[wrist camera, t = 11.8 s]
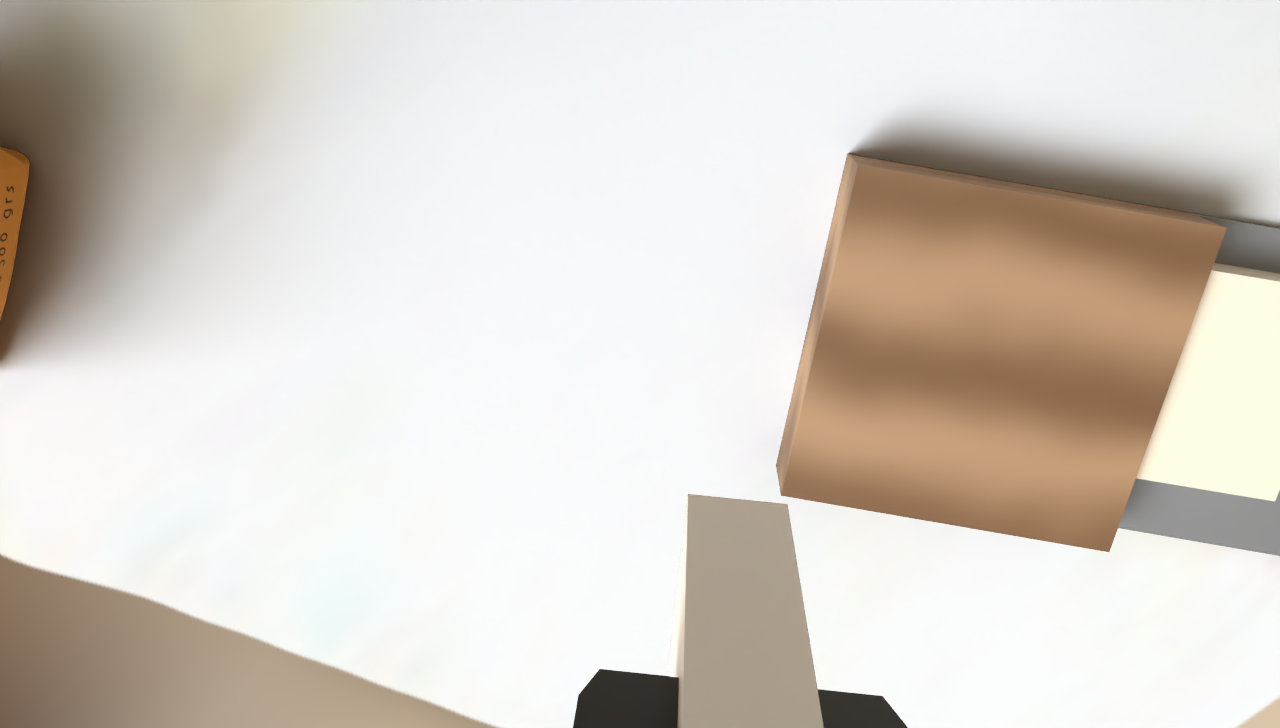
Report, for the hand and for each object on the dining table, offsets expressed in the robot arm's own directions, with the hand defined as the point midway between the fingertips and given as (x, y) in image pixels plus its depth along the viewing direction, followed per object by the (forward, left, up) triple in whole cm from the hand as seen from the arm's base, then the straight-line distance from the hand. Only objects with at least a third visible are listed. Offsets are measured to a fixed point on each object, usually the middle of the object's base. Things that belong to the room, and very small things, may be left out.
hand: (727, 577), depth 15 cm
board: (+3, +12, -28) cm, 31 cm away
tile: (+3, +22, -28) cm, 35 cm away
